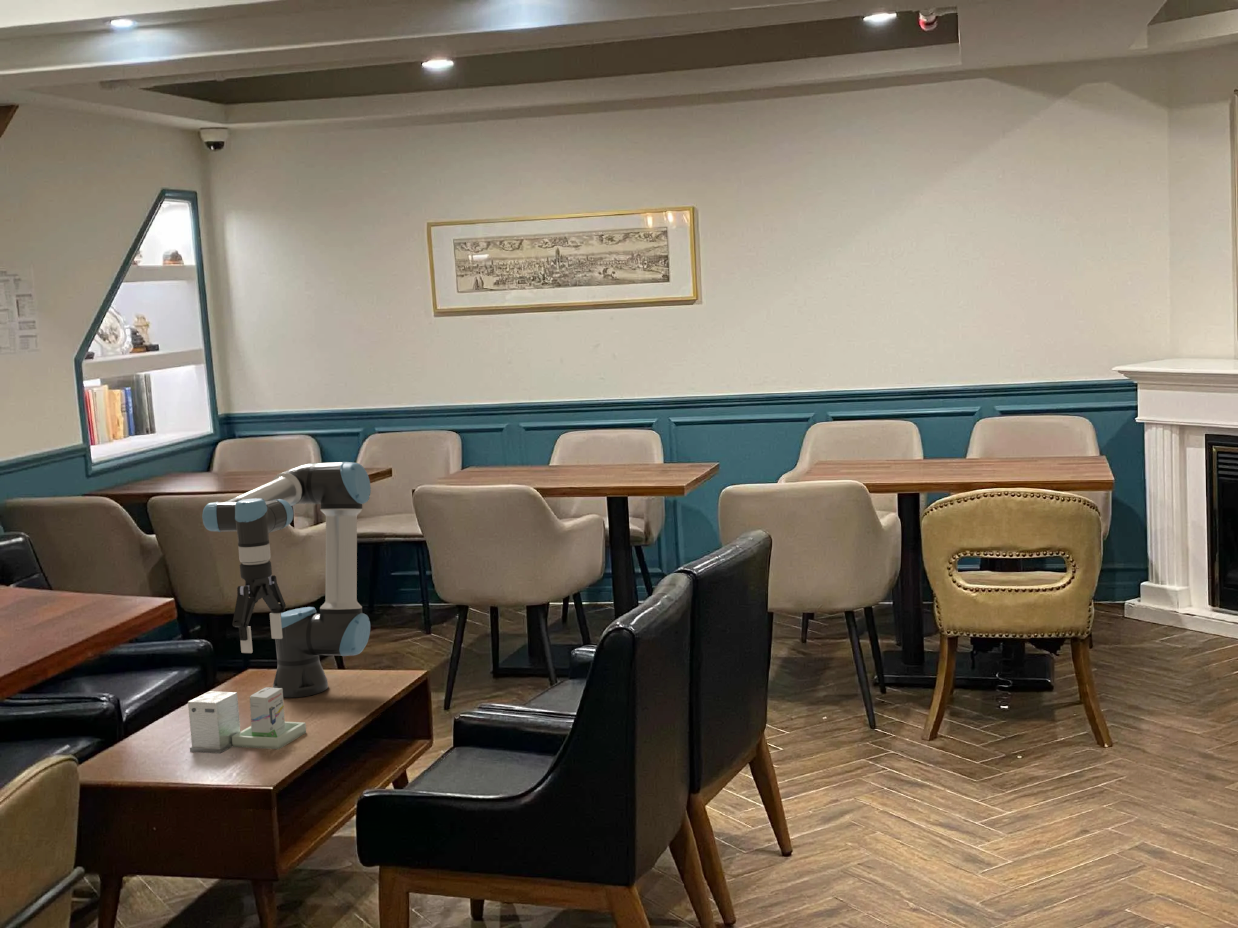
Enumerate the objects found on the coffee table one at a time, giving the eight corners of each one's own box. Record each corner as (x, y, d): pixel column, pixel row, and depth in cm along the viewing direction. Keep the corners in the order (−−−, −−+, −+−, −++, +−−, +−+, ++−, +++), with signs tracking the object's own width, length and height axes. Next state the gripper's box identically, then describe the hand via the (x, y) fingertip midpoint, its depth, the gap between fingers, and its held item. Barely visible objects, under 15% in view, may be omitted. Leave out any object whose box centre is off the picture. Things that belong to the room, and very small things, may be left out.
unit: (213, 738, 333) (209, 690, 332) (243, 739, 330) (239, 691, 329) (190, 751, 324) (185, 702, 322) (220, 753, 321) (215, 703, 320)
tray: (261, 729, 338) (260, 720, 338) (306, 732, 334) (305, 722, 334) (232, 746, 326) (231, 736, 325) (278, 749, 322) (277, 738, 321)
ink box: (268, 731, 334) (264, 686, 333) (286, 732, 333) (283, 686, 332) (251, 742, 326) (247, 696, 325) (270, 743, 325) (266, 696, 324)
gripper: (269, 551, 338) (276, 632, 340) (212, 571, 314) (220, 658, 317) (295, 551, 335) (301, 633, 338) (239, 572, 312) (247, 659, 314)
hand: (262, 645), depth 327 cm, fingers open, 13 cm apart
